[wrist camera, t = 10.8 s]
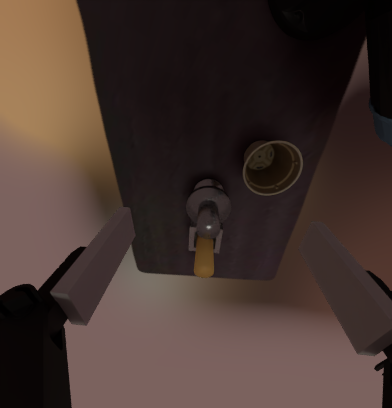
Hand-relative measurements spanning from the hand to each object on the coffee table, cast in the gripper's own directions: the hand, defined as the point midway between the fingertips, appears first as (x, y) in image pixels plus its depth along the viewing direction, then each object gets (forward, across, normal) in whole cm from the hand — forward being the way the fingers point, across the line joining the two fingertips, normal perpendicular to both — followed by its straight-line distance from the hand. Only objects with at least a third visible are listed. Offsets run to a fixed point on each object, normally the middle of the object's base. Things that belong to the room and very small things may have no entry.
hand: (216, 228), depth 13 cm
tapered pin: (+24, 0, -19) cm, 31 cm away
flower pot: (+27, +10, -2) cm, 29 cm away
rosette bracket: (+26, 0, -19) cm, 32 cm away
